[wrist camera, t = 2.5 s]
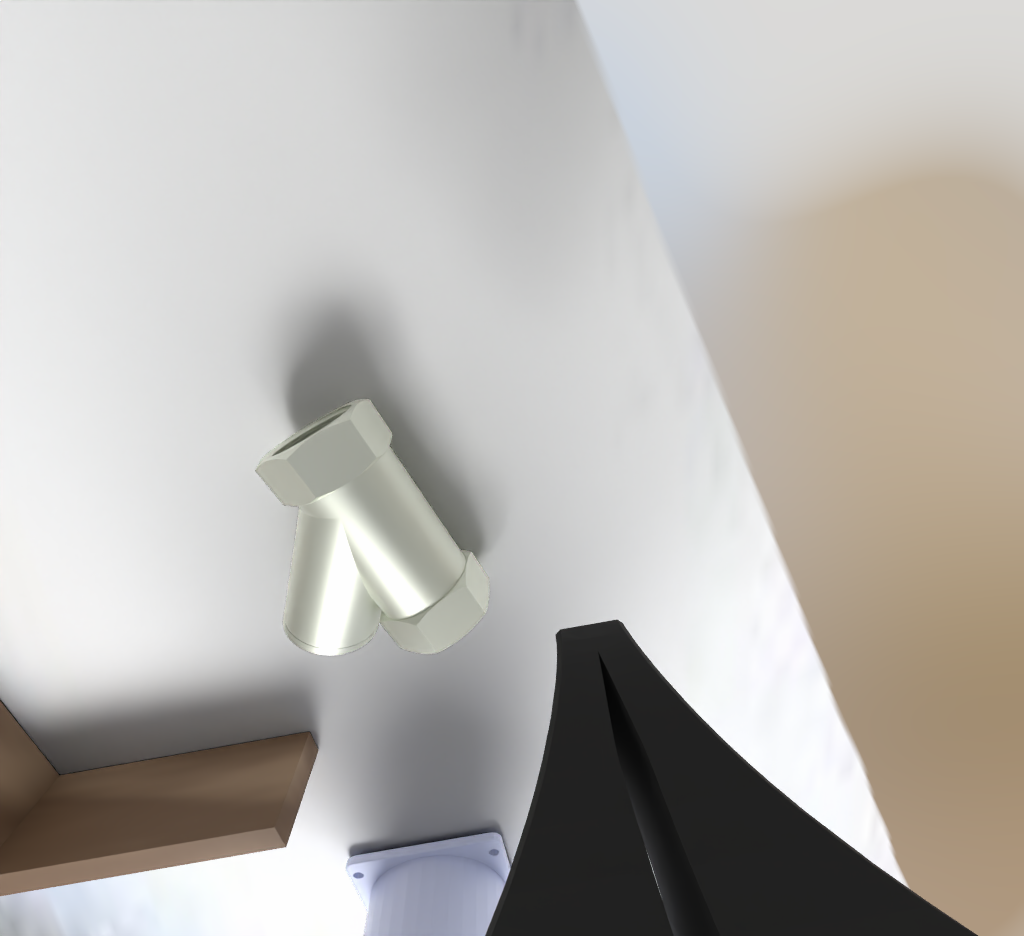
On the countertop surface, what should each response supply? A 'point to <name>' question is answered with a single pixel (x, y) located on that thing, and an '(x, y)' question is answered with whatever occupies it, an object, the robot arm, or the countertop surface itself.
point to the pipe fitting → (367, 543)
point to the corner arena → (143, 809)
